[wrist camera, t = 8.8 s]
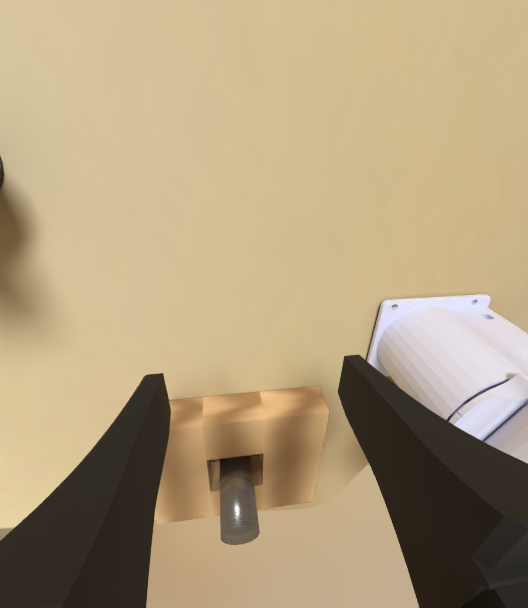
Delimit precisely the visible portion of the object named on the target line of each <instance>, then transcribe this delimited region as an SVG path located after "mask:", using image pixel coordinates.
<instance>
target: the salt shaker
mask: <svg viewBox="0 0 528 608" xmlns="http://www.w3.org/2000/svg"><path fill="white" fill-rule="evenodd" d="M2 178H3V169H2V161H1V158H0V187H1V184H2Z"/></svg>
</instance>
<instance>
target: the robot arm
mask: <svg viewBox="0 0 528 608" xmlns="http://www.w3.org/2000/svg"><path fill="white" fill-rule="evenodd" d="M490 300H491V298H490V297H489V296H488V295H486V294H480V295H463V296H446V297H429V298H411V299H394V300H385V301H384V302H383V303H382V304H381V306H380V310H379V314H378V318H377V322H376V326H375V330H374V334H373V338H372V342H371V346H370V350H369V354H368V358H367V361H366V360H365V359H363V358H362V357H361V356H360V355H350V356H344V361H343V367H342V372H341V378H340V383H339V388H338V394H339V397H340V400H341V403H342V406H343V409H344V412H345V414H346V417H347V419H348V421H349V423H350V425H351V427H352V429H353V431H354V434H355V436H356V438H357V440H358V442H359V444H360V446H361V448H362V450H363V452H364V454H365V456H366V458H367V460H368V462H369V464H370V466H371V468H372V471H373V473H374V475H375V477H376V480H377V482H378V485H379V487H380V490H381V493H382V496H383V498H384V501H385V504H386V506H387V509H388V512H389V515H390V518H391V520H392V523H393V526H394V529H395V531H396V534H397V538H398V540H399V543H400V546H401V549H402V553H403V556H404V558H405V562H406V565H407V568H408V571H409V574H410V578H411V581H412V584H413V588H414V591H415V594H416V598H417V601H418V604H419V608H528V334H527V333H526V332H524V331H522V330H521V329H520V328H518V327H517V326H515V325H513V324H512V323H510V322H509V321H507V320H506V319H504V318H503V317H501V316H500V315H498V314H497V313H495V312H494V311H492V310H491V309H489V308H487V307H488V305H489V303H490ZM393 305H395V306H394V307H392V306H393ZM385 376H391V377H392V379H393V380H394V382H395V383H396V384H397V385H395V384H394V383H393V382H392V381H390V380H389V379H388V378H387V377H385ZM170 418H171V408H170V403H169V399H168V394H167V390H166V385H165V380H164V376H163V373H161V374H150V375H146V376H145V377H144V378H143V379H142V381H141V383H140V384H139V386H138V387H137V389H136V390H135V392H134V393H133V395H132V396H131V398H130V399H129V401H128V402H127V404H126V405H125V407H124V408H123V409H122V411H121V412H120V414H119V415H118V416H117V418H116V419H115V421H114V422H113V423H112V425H111V426H110V427H109V429H108V430H107V431H106V432H105V434H104V435H103V436H102V437H101V439H100V440H99V441H98V442H97V444H96V445H95V446H94V447H93V449H92V450H91V451H90V452H89V453H88V455H87V456H86V457H85V458H84V459H83V460H82V461H81V463H80V464H79V465H78V466H77V467H76V468H75V469H74V470H73V471H72V473H71V474H70V475H69V476H68V477H67V478H66V479H65V480H64V481H63V482H62V483H61V484H60V485H59V486H58V487H57V488H56V489H55V490H54V491H53V492H52V493H51V494H50V495H49V496H48V497H47V498H46V499H45V500H44V501H43V502H42V503H41V504H40V505H39V506H38V507H37V508H36V509H35V510H34V511H33V512H32V513H30V514H29V515H28V516H27V517H26V518H25V519H24V520H23V521H22V522H21V523H19V524H18V525H17V526H16V527H15V528H14V529H13V530H12V531H11V532H10V533H9V534H7V535H6V536H5V537H4V538H3V539H2V540H1V541H0V608H146V601H147V588H148V576H149V575H148V574H149V564H150V554H151V543H152V534H153V525H154V515H155V508H156V502H157V496H158V491H159V486H160V481H161V476H162V471H163V465H164V460H165V455H166V450H167V445H168V439H169V431H170Z"/></svg>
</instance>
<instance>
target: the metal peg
mask: <svg viewBox="0 0 528 608" xmlns="http://www.w3.org/2000/svg"><path fill="white" fill-rule="evenodd" d="M219 466H220V521H221V540H222V542H224V543H226V544H230V545H239V544H244V543H248V542H250V541H252V540H254V539H255V538H257V537H258V535H259V524H258V516H257V506H256V497H255V488H254V480H253V471H252V462H251V455H246V456H238V457H230V458H222V459H219Z"/></svg>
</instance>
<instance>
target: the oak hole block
mask: <svg viewBox="0 0 528 608" xmlns="http://www.w3.org/2000/svg"><path fill="white" fill-rule="evenodd" d="M169 403H170V408H171V418H170V431H169V439H168V445H167V450H166V455H165V460H164V465H163V471H162V476H161V481H160V486H159V491H158V496H157V502H156V508H155V516H156V520H157V523H158V524H164V523H171V522H178V521H184V520H191V519H198V518H204V517H211V516H218V515H220V466H219V461H215V462H211V460H214V459H222V458H230V457H238V456H246V455H254V454H259V456H255V457H251V462H252V471H253V480H254V488H255V497H256V506H257V510H258V509H265V508H271V507H278V506H285V505H292V504H298V503H305V502H312V501H313V497H314V492H315V487H316V481H317V476H318V471H319V466H320V460H321V455H322V450H323V445H324V439H325V434H326V429H327V424H328V418H329V413H330V412H329V410H328V407H327V405H326V402H325V400H324V397H323V395H322V392H321V390H320V388H319V386H314V387H304V388H293V389H283V390H272V391H262V392H252V393H241V394H231V395H220V396H210V397H200V398H189V399H179V400H169Z"/></svg>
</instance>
